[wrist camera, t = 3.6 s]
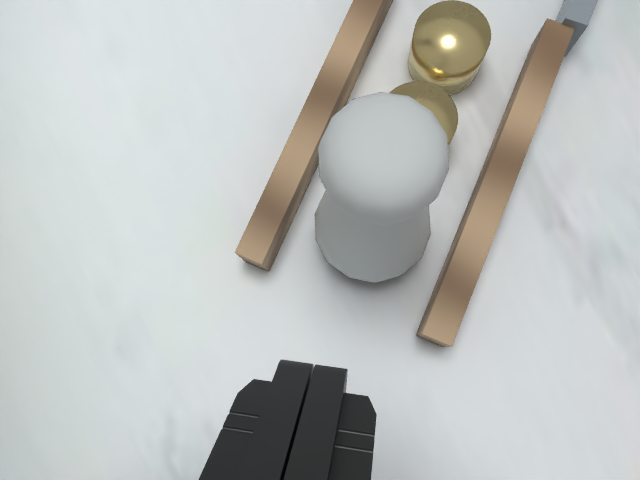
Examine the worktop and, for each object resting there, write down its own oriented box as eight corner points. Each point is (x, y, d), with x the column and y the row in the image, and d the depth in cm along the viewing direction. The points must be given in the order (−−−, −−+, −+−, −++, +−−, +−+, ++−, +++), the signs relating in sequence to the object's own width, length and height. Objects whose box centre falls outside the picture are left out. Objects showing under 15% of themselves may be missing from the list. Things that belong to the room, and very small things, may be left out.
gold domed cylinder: (428, 107, 31) (437, 81, 28) (395, 51, 31) (400, 20, 29) (490, 77, 31) (505, 48, 28) (456, 22, 32) (467, -12, 29)
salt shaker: (443, 257, 29) (517, 183, 16) (349, 306, 29) (348, 272, 16) (390, 165, 30) (420, 30, 17) (299, 212, 30) (261, 110, 17)
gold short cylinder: (397, 185, 30) (401, 167, 27) (363, 126, 31) (365, 102, 28) (460, 154, 30) (472, 133, 27) (426, 95, 31) (433, 68, 28)
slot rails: (442, 346, 28) (451, 346, 25) (244, 260, 29) (234, 252, 27) (557, 53, 31) (575, 27, 28) (371, -12, 32) (372, -42, 30)
